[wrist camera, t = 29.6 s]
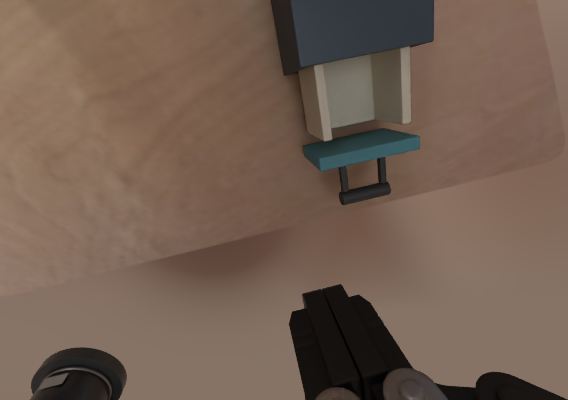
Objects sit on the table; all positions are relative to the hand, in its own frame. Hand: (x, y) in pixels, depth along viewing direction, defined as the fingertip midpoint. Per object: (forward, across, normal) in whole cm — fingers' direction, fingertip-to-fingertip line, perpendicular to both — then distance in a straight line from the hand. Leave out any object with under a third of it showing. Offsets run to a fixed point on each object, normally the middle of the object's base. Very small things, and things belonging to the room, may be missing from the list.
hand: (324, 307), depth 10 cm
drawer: (+22, +9, +4) cm, 24 cm away
